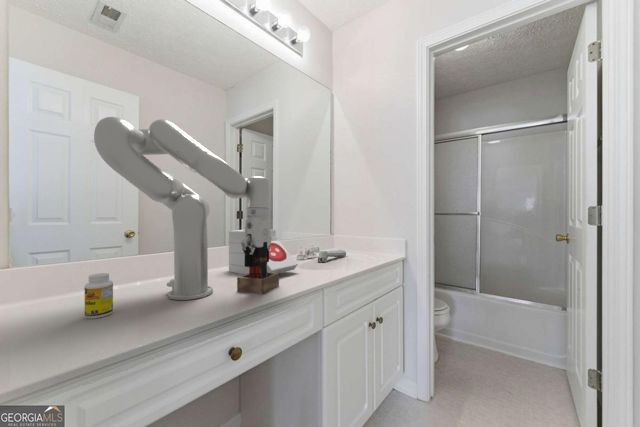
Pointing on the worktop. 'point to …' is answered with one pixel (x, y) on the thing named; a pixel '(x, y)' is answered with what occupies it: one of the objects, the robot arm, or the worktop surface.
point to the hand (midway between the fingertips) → (257, 264)
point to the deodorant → (259, 263)
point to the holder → (257, 283)
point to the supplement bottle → (98, 296)
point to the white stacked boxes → (277, 255)
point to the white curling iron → (330, 255)
